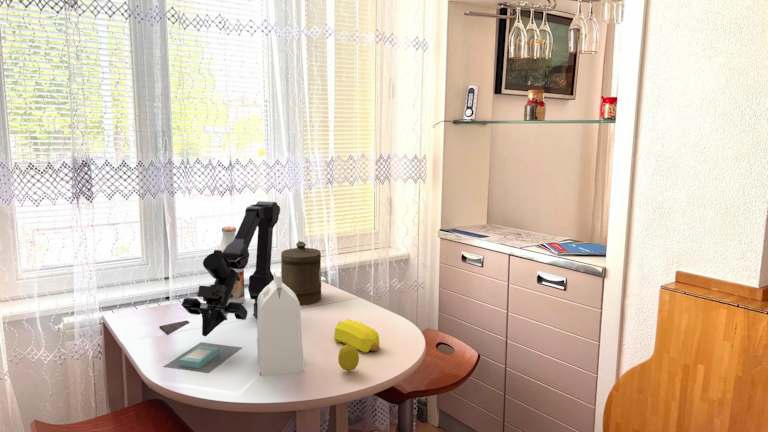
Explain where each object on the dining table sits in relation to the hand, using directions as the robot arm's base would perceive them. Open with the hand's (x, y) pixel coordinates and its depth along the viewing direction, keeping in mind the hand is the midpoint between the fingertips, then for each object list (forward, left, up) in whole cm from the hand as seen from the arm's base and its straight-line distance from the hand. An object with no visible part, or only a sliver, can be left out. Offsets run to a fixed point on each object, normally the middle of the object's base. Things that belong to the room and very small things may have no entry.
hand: (204, 335), depth 164 cm
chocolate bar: (-1, -23, -7) cm, 25 cm away
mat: (0, 0, -7) cm, 7 cm away
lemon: (-29, +31, -7) cm, 43 cm away
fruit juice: (-25, -44, -7) cm, 51 cm away
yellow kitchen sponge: (-41, +16, -7) cm, 44 cm away
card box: (-2, -2, -5) cm, 6 cm away
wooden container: (-48, -33, -7) cm, 59 cm away
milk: (-16, +16, -7) cm, 23 cm away
